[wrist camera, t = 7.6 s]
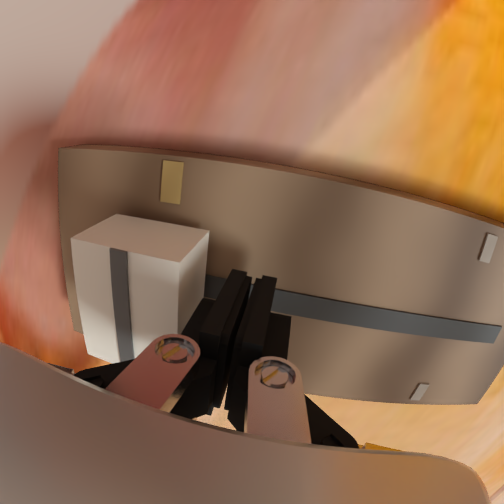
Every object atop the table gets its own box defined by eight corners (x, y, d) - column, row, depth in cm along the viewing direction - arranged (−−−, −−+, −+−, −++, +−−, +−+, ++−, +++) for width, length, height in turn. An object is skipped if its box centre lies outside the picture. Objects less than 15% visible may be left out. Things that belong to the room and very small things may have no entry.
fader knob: (209, 230, 11) (178, 264, 9) (200, 338, 13) (176, 386, 10) (116, 213, 12) (68, 239, 9) (121, 316, 14) (86, 355, 11)
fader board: (536, 236, 11) (558, 249, 9) (467, 382, 15) (477, 405, 13) (84, 144, 13) (57, 148, 11) (92, 313, 17) (73, 331, 15)
